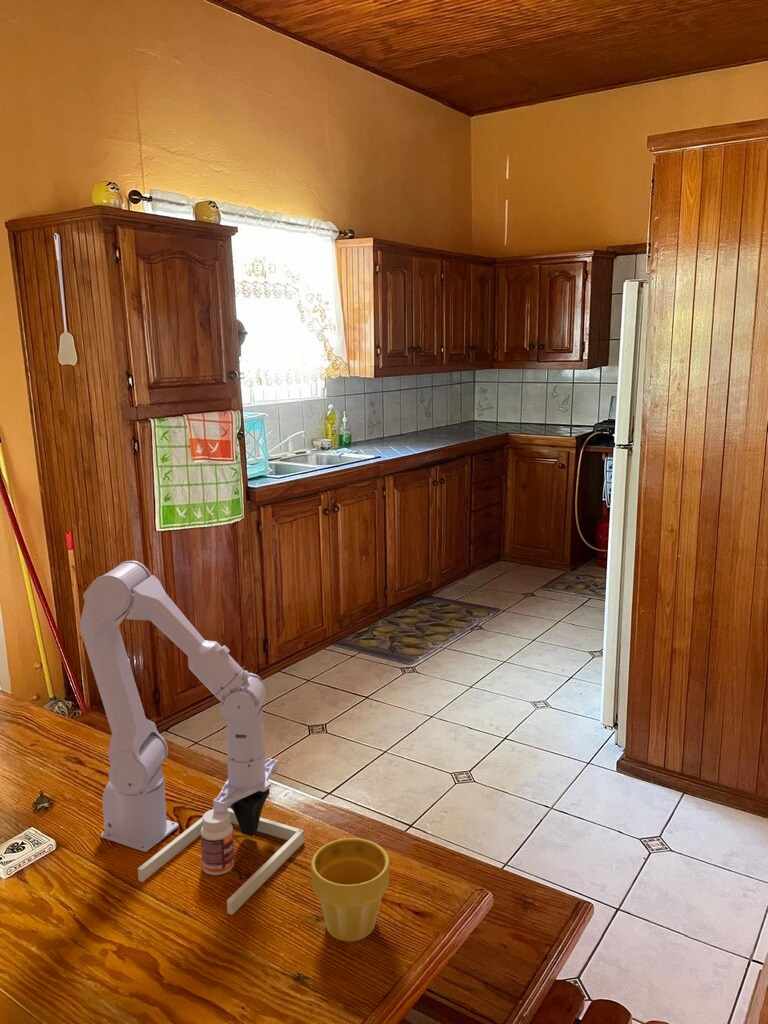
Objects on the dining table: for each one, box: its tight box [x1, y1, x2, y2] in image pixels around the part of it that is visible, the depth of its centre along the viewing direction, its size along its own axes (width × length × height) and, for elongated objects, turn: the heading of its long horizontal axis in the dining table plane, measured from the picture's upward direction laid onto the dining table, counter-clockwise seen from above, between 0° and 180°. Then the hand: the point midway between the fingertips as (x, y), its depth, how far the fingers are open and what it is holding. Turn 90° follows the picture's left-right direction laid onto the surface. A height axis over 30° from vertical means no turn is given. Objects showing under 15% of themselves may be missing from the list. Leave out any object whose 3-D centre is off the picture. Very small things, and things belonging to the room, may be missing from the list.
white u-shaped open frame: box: [137, 807, 305, 916], centre depth 121 cm, size 17×19×2 cm
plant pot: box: [310, 837, 390, 943], centre depth 106 cm, size 10×10×10 cm
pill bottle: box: [200, 808, 235, 876], centre depth 119 cm, size 5×5×8 cm
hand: (248, 832), depth 127 cm, fingers closed
